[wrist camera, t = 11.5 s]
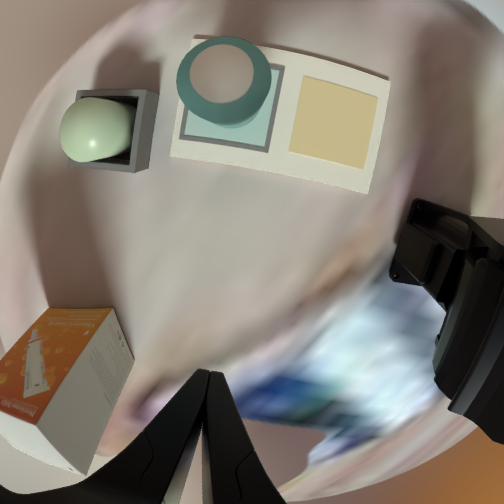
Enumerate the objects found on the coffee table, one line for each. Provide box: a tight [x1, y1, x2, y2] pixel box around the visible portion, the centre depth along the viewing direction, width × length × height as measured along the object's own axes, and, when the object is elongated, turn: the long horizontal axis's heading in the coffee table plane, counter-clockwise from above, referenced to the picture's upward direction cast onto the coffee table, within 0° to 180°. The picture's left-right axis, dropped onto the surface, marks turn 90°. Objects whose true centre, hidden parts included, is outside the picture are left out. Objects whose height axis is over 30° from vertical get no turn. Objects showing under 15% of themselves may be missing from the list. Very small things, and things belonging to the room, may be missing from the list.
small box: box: [0, 308, 134, 476], centre depth 18 cm, size 8×6×13 cm
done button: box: [59, 97, 137, 162], centre depth 15 cm, size 4×4×4 cm
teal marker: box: [176, 36, 272, 128], centre depth 12 cm, size 4×4×8 cm
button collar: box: [68, 89, 159, 173], centre depth 16 cm, size 5×5×2 cm
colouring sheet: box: [170, 39, 391, 194], centre depth 17 cm, size 13×8×1 cm, turn 80°
